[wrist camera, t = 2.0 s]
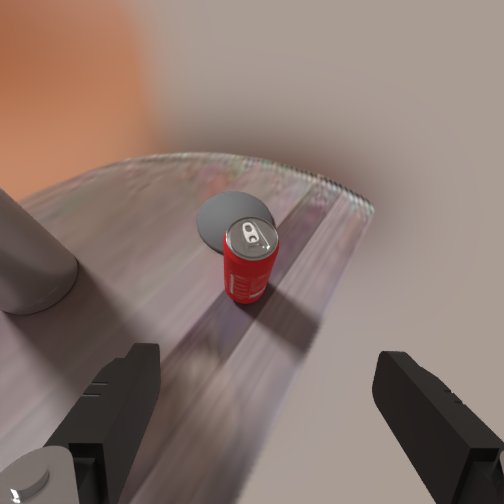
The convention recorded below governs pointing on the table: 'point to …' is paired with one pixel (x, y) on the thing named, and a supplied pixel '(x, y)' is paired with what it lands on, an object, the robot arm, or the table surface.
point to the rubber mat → (227, 215)
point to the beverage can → (248, 257)
